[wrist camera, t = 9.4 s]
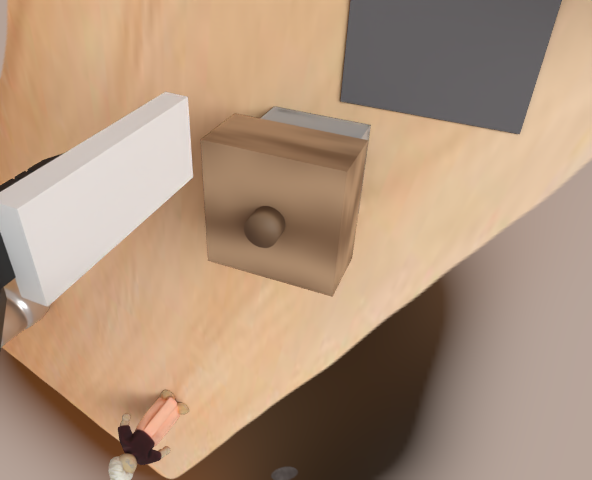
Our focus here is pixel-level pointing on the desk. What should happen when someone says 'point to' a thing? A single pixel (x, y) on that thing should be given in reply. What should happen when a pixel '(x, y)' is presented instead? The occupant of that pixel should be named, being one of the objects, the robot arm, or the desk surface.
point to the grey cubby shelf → (319, 123)
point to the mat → (448, 58)
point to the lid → (282, 200)
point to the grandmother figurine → (145, 436)
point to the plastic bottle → (19, 312)
